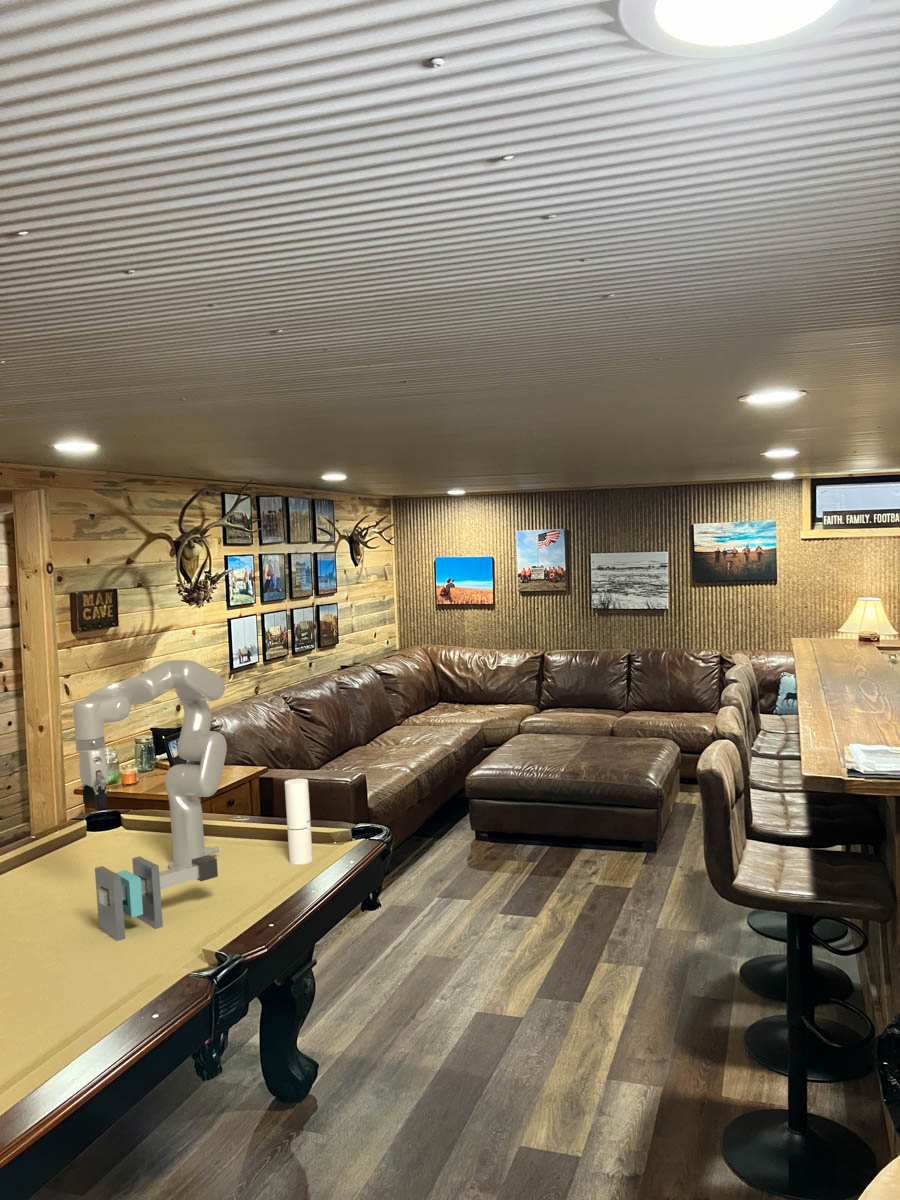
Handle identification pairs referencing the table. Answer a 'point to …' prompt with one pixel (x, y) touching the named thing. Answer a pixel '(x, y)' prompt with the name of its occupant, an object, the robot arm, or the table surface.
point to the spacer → (132, 894)
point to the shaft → (174, 876)
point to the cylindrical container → (298, 821)
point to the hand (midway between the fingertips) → (95, 805)
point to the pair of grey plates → (113, 913)
